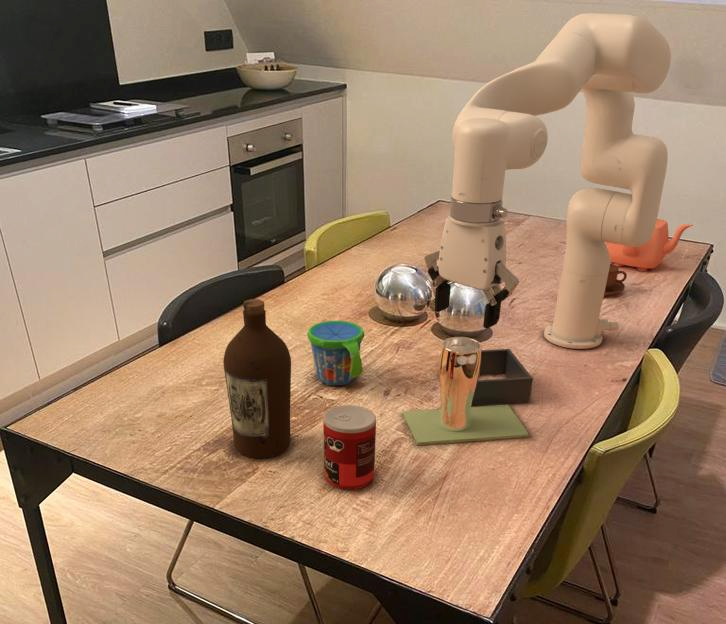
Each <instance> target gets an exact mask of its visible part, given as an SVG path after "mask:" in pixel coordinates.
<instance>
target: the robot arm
mask: <svg viewBox="0 0 726 624" xmlns="http://www.w3.org/2000/svg"><path fill="white" fill-rule="evenodd" d="M671 54H672V53H671V48H670V44H669V41H668V40H667V38H666V37H665V36H664V35H663V34H662V33H661V32H660V31H659V30H658V29H657V27H655V26H654V25H653V24H652V23H651V22H649V21H648V20H646V19H645V18H644V17H641V16H638V15H635V14H626V13H625V14H623V13H621V14H620V13H603V12H583V13H580V14H577V15H575V16H573V17H572V18H570V19H569V20H568V21H567V22H566V23H565V24H564V25H563V27H561V29H560V30H559V31H558V32H557V34H556V35H555V36H554V37H553V38H552V39H551V41H550V42H549V43H548V45H547V46H545V48H544V49H543V51H541V53H540V54H539V55H538V57H536V59H535V60H534V61H533V62H530V63H527V64H525V65H523V66H520V67H518V68H515V69H514V70H511V71H509V72H507V73H504V74H502V75H499V76H498V77H496V78H493V79H492V80H490V81H489V82H487V83H485V84H484V85H482V86H481V87H480V88H479V89H478V90H477V91H476V92H475V93H474V94H473V96H471V98H470V99H469V100H468V101H467V102H466V104H465V105H464V107H463V108H462V110H460V112H459V114H458V115H457V118H456V120H455V122H454V124H453V128H452V134H451V143H452V147H453V149H454V157H453V158H454V159H453V173H452V185H451V197H450V198H451V199H450V211H449V214H448V215H447V216H446V219H445V223H444V226H443V230H442V235H441V240H440V247H439V250H438V251H435V252H432V253H429V254H427V255H425V256H424V262H425V265H426V268H427V274H428V276H429V277H430V279H431V280H432V283H431V284H432V287H433V288H435V290H434V291H435V292H434V312H436V313H441V312H442V311H445V310H447V309H448V308H449V307H450V304H451V303H450V301H451V289H452V286H451V283H449V282H452V283H455V284H458V285H460V286H461V285H462V286H465V287H469V288H472V289H475V290H479V291H483V294H484V295H485V298H486V299H487V301H488V303H486V304H485V306H484V315H483V323H482V327H483V328H484V329H490V328H491V327H493V326H496V325H497V324H498V322H499V320H500V315H501V309H502V307H501V306H502V302H504V301H505V300H506V299H507V298H509V297H510V296H512V295H513V292H514V291H515V290H516V288H517V286H518V285H519V284H520V279H519V278H518V277H517V276H516V275H515V274H513V272H512V271H511V270H509V269H508V268H507V267H506V266H507V265H506V264H507V233H506V232H507V231H506V224H505V223H506V222H505V221H504V220H501V219H505V218H506V217H507V215H508V208H504V207H503V195H504V188H505V187H504V186H505V179H506V178H505V177H506V171H507V170H509V171H510V170H524V169H526V168H527V169H528V168H530V167H531V166H533V165H535V164H536V163H537V162H538V161H539V160H540V159H541V158H542V156H543V155H544V153H545V151H546V148H547V145H548V141H549V140H548V139H549V135H548V129H547V126H546V124H545V122H544V121H543V120H542V119H541V118H539V117H538V116H541V115H547V114H549V113H555V112H557V111H560V110H563V109H565V108H566V107H568V106H569V105H571V103H572V102H573V101H574V100H575V98H576V97H577V96H578V95H579V93H580V92H581V91H582V93H583V97H584V99H585V105H586V111H585V112H586V113H585V125H584V133H583V139H582V148H581V156H580V158H581V159H580V174H581V176H582V178H583V179H584V180H585V181H587V182H589V183H593V184H596V185H601V186H606V187H613V188H618V189H625V190H629V191H630V193H627V192H622V191H617V190H611V189H605V188H599V187H598V188H597V187H586V188H583V189H579V190H578V191H576V192H575V193H574V194H573V195H572V197H571V198H570V200H569V202H568V204H567V207H566V236H565V237H566V239H565V248H564V249H565V250H564V255H563V262H562V269H561V274H560V278H559V286H558V290H557V291H558V293H557V297H556V303H555V308H554V315H553V321H552V324H549V325H548V326H546V327H545V328H544V330H543V337H544V338H545V339H546V340H547V341H548V342H549V343H551V344H553V345H555V346H559V347H562V348H567V349H571V350H573V349H575V350H587V349H588V350H589V349H594V348H597V347H598V346H600V345H601V344H602V342H603V337H604V336H603V333H605V332H606V331H607V332H614V331H615V332H616V331H618V330H619V327H620V326H619V322H618V321H609V320H608V318H601V319H600V317H601V312H602V307H603V302H604V296H605V295H604V292H605V287H606V282H607V278H608V273H609V268H610V264H611V261H610V255H609V251H608V248H607V245H606V242H610V243H615V244H619V245H624V246H631V247H639V246H642V245H644V244H646V243H647V242H648V241H649V239H650V238H651V236H652V234H653V231H654V229H655V225H656V221H657V219H658V216H659V211H660V205H661V200H662V195H663V190H664V184H665V178H666V174H667V168H668V159H669V157H668V148H667V145H666V144H665V143H664V141H663V140H662V139H660V138H658V137H655V136H650V135H642V134H635V133H634V132H633V121H634V114H635V105H636V104H635V99H634V98H635V97H634V95H633V93H634V94H643V95H645V94H652V93H654V92H655V91H657V90H658V89H659V88H661V86H662V84H664V82H665V80H666V78H667V76H668V74H669V71H670V67H671V62H672V61H671V59H672V58H671V57H672V55H671ZM437 261H438V262H437ZM503 283H504V287H503V289H502V287H501V284H503Z"/></svg>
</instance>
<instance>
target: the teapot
mask: <svg viewBox="0 0 726 624" xmlns="http://www.w3.org/2000/svg"><path fill="white" fill-rule="evenodd" d="M668 224H669V223H668V221H667V220H664V219H660V218H657V221H656V225H655V229H654V231H653V234H652V236H651V238H650V239H649V241H648V242H647V243H646V244H644V245H642V246H639V247H631V246H624V245H619V244H615V243H610V242H605V243H606V246H607V248H608V251H609V255H610V262H612V263H613V265H615V266H617V267H624V266H630V267H634V268H635V267H636V269H637V270H638V271H641V272H646V271H648V269H655V268H656V267H658V266H659V265H660V264H661V263H662V261H663V260H664V258H665V257H666V255H669V254H671V253H672V252H673V251H674V250H675V249H676V248H677V246H678V243H679V241H680V240H681V236H682V235H683V233H684V232H685V231H686V230H687V229H688V228H690V227H693V226H694V224H692V223H691V224H690V223H688V224H687V223H686V224H680V226H678V227H677V228H676V230H675V232H674V234H673V236H672V237H671V239H670V240H669V225H668Z"/></svg>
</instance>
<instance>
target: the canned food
mask: <svg viewBox="0 0 726 624" xmlns="http://www.w3.org/2000/svg"><path fill="white" fill-rule="evenodd" d="M376 419H377V417H376V414H375V413H374V412H373V411H372V410H370V409H368V408H366V407H363V406H359V405H351V404H350V405H349V404H348V405H339V406H335V407H332V408H329V409H328V410H326V412H325V413H324V415H323V421H322V422H323V425H322V426H323V427H322V429H323V430H322V431H323V435H322V436H323V474H324V478H325V480H326V482H327V483H328V484H330V485H331V486H333V487H335V488H337V489H340V490H349V491H350V490H359V489H362V488H365V487H366V486H368V485H370V484H371V483H372V481H373V478H374V477H375V465H376V464H375V462H376V438H377V437H376V436H377V435H376V434H377V420H376Z"/></svg>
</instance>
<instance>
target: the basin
mask: <svg viewBox="0 0 726 624" xmlns="http://www.w3.org/2000/svg"><path fill="white" fill-rule="evenodd" d="M497 374H504V375H505V376H506V378H493V379H479V380H478V384H477V387H476V390H475V393H474V397H473V400H472V404H471V407H480V406H495V405H510V404H525V403H530V401H531V396H532V395H531V393H532V389H533V388H532V387H533V381H534V378H533V376H532V375H531V374H530V373H529V371H528V370H527V368H525V366H524V365H523V364H522V362H521V361H520V360H519V359H518V358H517V356H516V355H515V354H514V353H513V352H512V350H511V349H510V348H502V349H501V348H498V349H483V350H482V349H481V368H480V375H479V376H481V375H497Z"/></svg>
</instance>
